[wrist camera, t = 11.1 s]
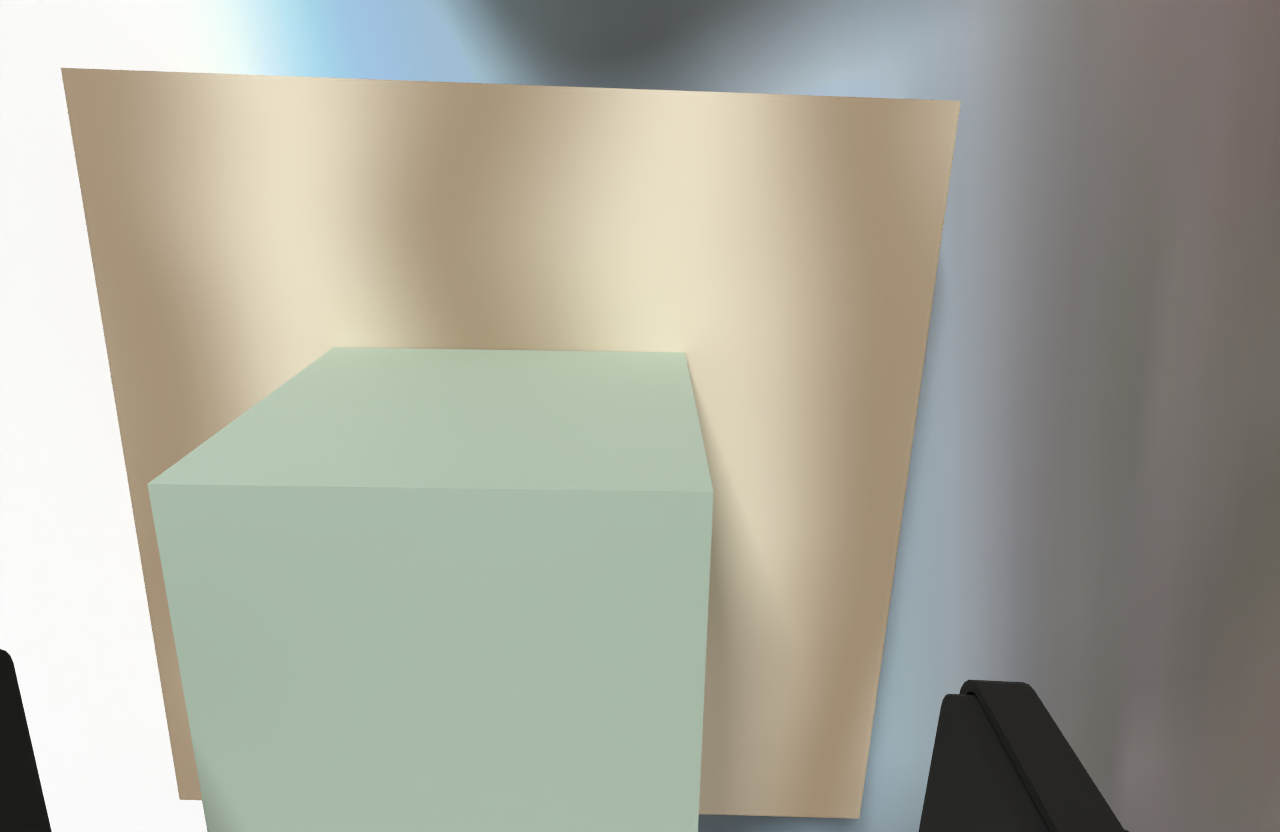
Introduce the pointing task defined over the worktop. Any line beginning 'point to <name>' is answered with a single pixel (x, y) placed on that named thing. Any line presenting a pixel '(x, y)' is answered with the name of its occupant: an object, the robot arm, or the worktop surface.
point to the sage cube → (447, 595)
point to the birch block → (559, 323)
